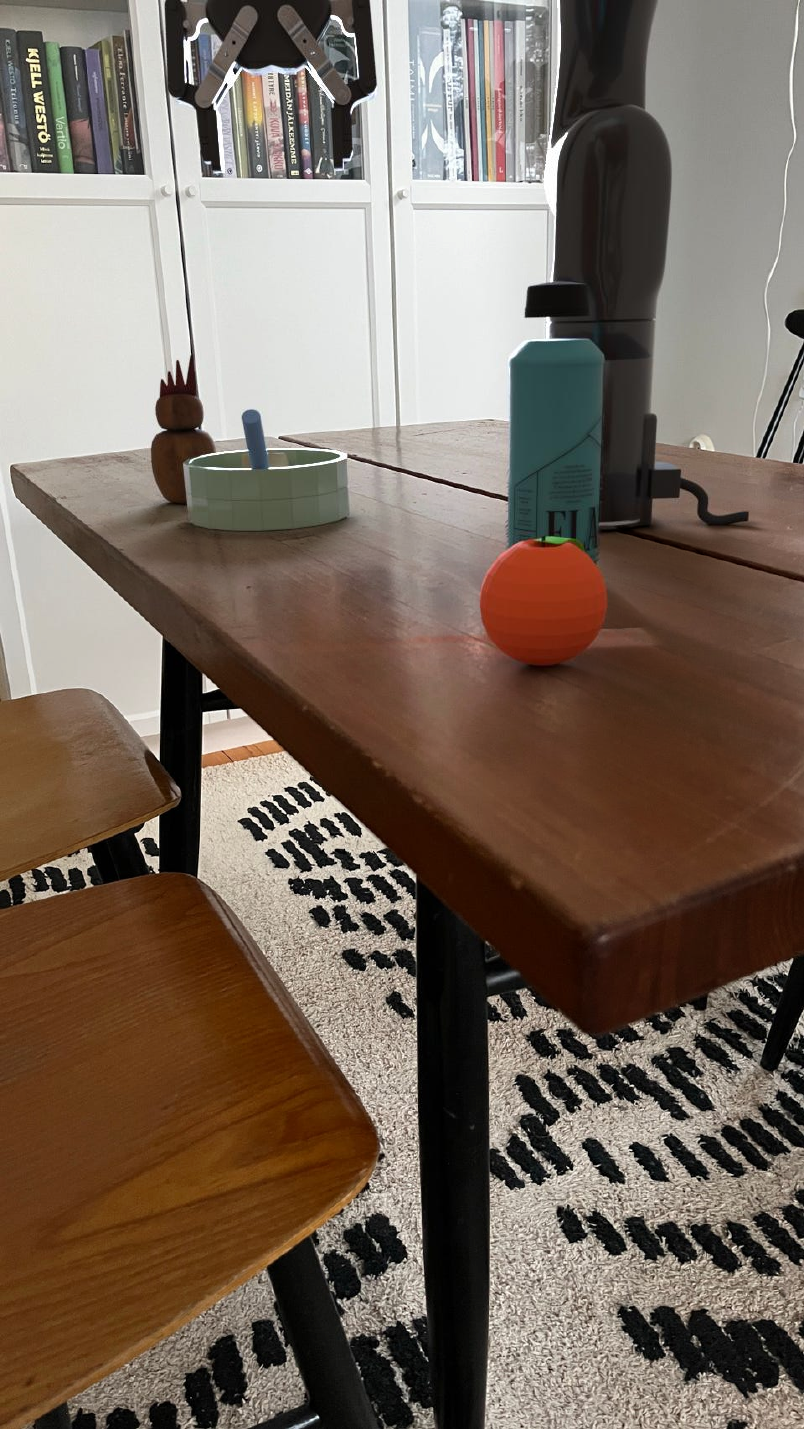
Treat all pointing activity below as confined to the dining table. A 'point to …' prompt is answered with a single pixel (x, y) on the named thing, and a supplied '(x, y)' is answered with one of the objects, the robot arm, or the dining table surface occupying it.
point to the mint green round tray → (267, 491)
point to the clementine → (543, 601)
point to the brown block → (273, 458)
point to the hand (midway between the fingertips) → (278, 171)
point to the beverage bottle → (555, 427)
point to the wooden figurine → (178, 433)
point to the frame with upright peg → (255, 439)
